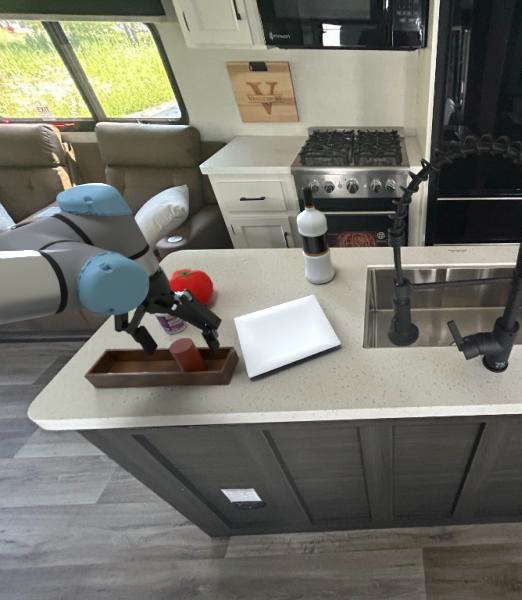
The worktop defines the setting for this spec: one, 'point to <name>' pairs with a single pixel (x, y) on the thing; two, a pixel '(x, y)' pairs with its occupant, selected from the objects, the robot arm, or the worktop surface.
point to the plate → (284, 334)
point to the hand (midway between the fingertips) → (185, 349)
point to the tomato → (192, 284)
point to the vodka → (314, 241)
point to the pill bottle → (171, 322)
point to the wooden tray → (159, 368)
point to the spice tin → (187, 355)
